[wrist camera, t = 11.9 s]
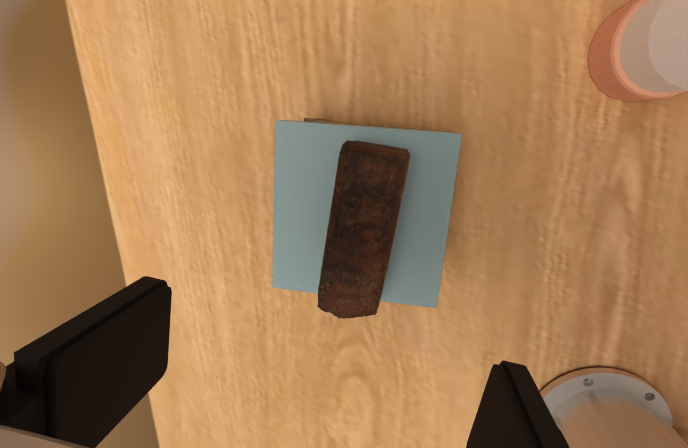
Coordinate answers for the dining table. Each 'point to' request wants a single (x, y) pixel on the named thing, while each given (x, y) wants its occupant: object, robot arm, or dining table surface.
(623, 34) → the salt shaker
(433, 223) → the tower top
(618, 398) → the robot arm
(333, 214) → the brick
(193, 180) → the dining table surface
